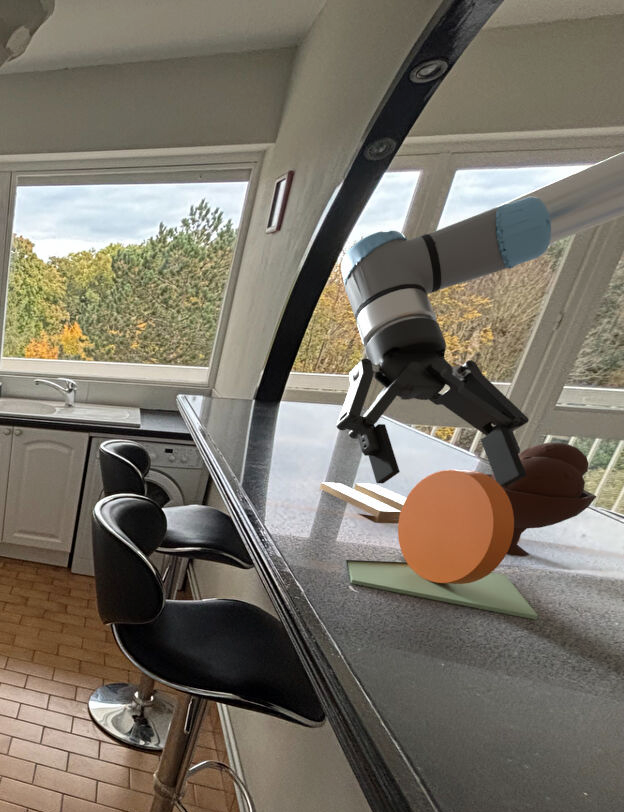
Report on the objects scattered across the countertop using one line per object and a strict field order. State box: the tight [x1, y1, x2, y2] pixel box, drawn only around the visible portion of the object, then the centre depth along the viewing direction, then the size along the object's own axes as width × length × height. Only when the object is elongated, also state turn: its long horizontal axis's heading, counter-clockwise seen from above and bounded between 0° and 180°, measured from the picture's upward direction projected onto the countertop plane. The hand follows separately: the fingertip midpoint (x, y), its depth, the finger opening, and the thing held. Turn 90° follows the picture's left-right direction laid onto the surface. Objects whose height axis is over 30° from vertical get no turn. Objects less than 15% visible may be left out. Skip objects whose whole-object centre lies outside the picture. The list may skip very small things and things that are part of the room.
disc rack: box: [319, 482, 407, 524], centre depth 93 cm, size 9×15×3 cm, turn 175°
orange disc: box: [397, 469, 514, 584], centre depth 67 cm, size 2×13×13 cm, turn 175°
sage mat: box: [345, 559, 539, 621], centre depth 70 cm, size 16×12×1 cm
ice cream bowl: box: [486, 441, 598, 557], centre depth 75 cm, size 11×11×15 cm
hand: (449, 479), depth 68 cm, fingers open, 13 cm apart
